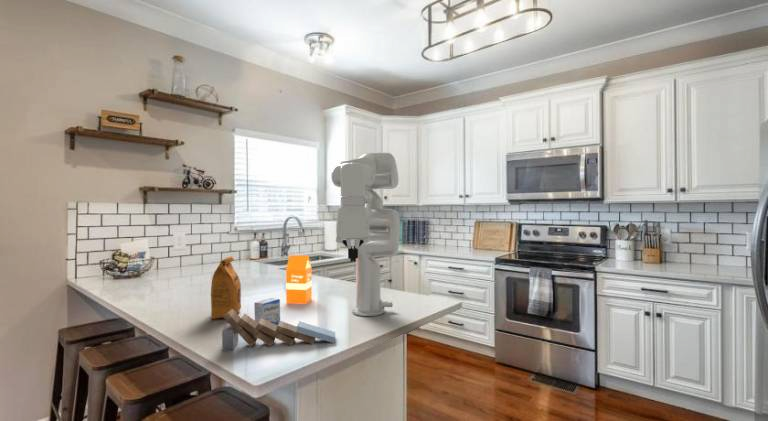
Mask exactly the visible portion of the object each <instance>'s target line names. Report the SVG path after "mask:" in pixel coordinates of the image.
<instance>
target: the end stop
mask: <svg viewBox="0 0 768 421" xmlns="http://www.w3.org/2000/svg"><path fill="white" fill-rule="evenodd" d="M221 336H222V337H221V338H222V341H221V343H222V344H221V347H222V348H221V349H222V350H221V351H226V352H227V351H234V350H235V348H236V346H237V344H238V343H239V334H238V333H237V332H236V331H235V329H234V328H233V327H232V326H231V325H230V324H229V323H228V322H227V323H226V325H225V326H224V327H223V329H222V330H221Z"/></svg>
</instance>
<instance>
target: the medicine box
mask: <svg viewBox="0 0 768 421" xmlns="http://www.w3.org/2000/svg"><path fill="white" fill-rule="evenodd" d="M253 305H254V306H253V307H254V320H255V321H256V322H257V323H258V322H259V321H260V319H261V318H262V319H264V320H266V321H269V322H271V323H273V324H275V325H278V324H279V321H281V300H280V298H276V297H271V298H266V299H263V300H259V301H255V302H254V304H253Z"/></svg>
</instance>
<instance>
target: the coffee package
mask: <svg viewBox="0 0 768 421" xmlns="http://www.w3.org/2000/svg"><path fill="white" fill-rule="evenodd" d="M234 259H235V258H234V257H233V256H231V255H230V256H228V257H225V258H223V259H221V261H220V263H219V265H218V266H217V268H216V269H215V271H214V272H213V274H212V279H211V286H210V304H211V305H210V306H211V313H210V315H211V316H210V318H211V320H216V319H224V318H223V317H224V316H225V315H226V313H227V312H229V311H230V310H231V309H233V310H234V311H235V312H236V313H237V314H238V313H239V312H240V311H241V308H242V304H241V303H242V292H241V291H242V286H241V285H242V284H241V280H240V277H239V275H238V273H237V272H236V271H235V269H234V266H233V265H232V262H233V261H235V260H234Z"/></svg>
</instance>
